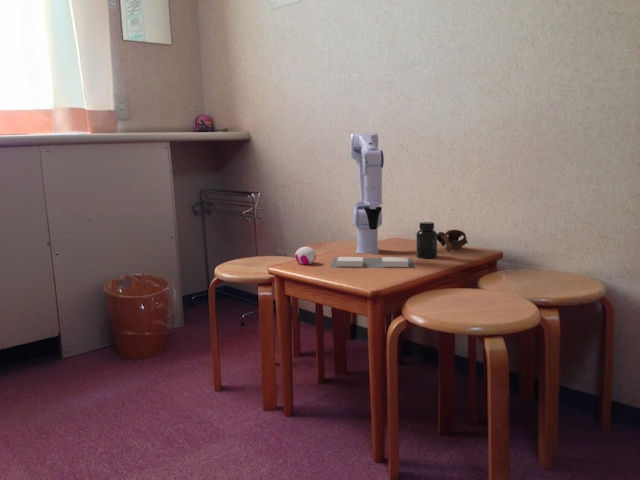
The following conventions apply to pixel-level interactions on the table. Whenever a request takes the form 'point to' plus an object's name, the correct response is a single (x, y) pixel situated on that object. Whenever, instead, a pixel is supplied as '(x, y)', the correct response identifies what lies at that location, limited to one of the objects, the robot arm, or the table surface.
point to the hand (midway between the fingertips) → (373, 229)
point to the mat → (374, 263)
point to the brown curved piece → (452, 239)
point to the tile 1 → (350, 262)
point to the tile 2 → (394, 262)
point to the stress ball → (305, 255)
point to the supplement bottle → (426, 241)
